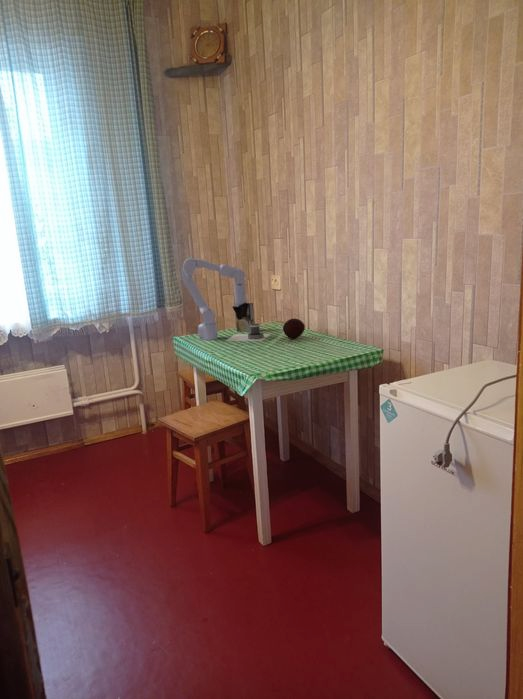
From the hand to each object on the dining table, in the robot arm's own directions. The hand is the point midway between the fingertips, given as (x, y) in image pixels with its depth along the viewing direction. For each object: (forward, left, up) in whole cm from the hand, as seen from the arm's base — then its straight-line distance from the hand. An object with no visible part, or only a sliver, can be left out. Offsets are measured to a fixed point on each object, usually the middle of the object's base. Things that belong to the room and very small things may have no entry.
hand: (242, 318), depth 270 cm
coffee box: (-3, +14, -11) cm, 18 cm away
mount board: (+4, -4, -10) cm, 12 cm away
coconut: (+28, -2, -11) cm, 30 cm away
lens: (+8, -5, -9) cm, 14 cm away
